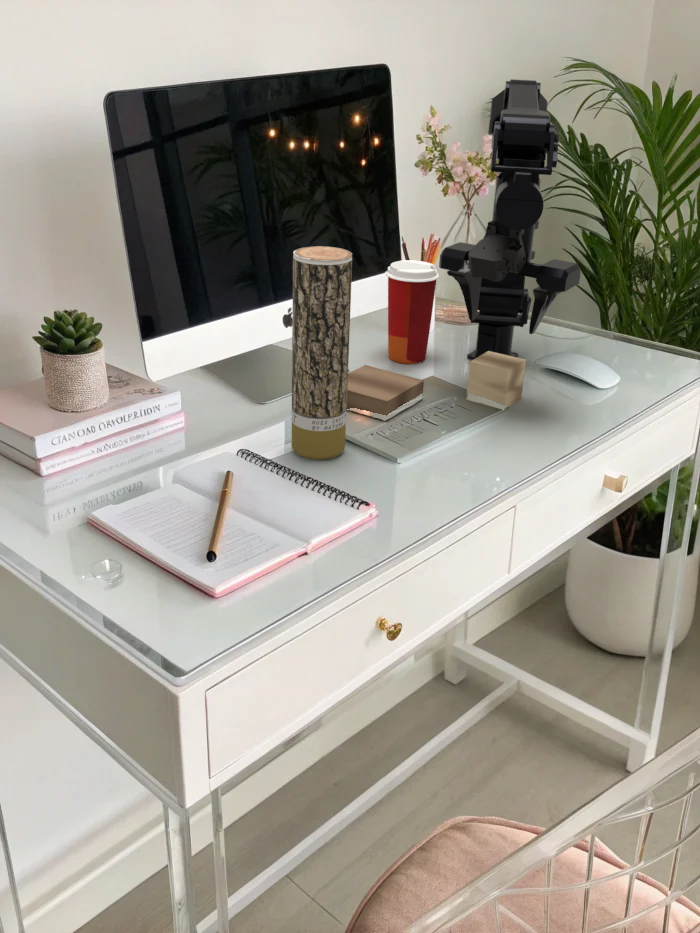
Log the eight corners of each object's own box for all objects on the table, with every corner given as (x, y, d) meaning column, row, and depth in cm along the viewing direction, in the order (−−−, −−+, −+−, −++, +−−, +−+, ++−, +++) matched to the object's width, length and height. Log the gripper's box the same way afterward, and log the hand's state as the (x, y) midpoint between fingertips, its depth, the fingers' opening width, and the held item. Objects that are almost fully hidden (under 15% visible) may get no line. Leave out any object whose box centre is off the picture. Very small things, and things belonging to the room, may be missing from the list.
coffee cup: (432, 351, 152) (440, 260, 145) (431, 368, 145) (439, 274, 138) (382, 347, 152) (387, 257, 146) (378, 364, 145) (383, 270, 138)
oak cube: (484, 388, 138) (488, 350, 135) (521, 398, 135) (526, 359, 132) (465, 400, 133) (469, 361, 131) (503, 410, 130) (508, 371, 128)
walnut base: (364, 383, 137) (365, 364, 136) (422, 399, 133) (423, 380, 131) (325, 403, 130) (326, 384, 129) (385, 421, 125) (387, 401, 124)
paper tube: (352, 444, 118) (360, 250, 107) (334, 466, 112) (340, 263, 101) (303, 435, 120) (306, 243, 109) (282, 456, 114) (283, 256, 103)
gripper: (423, 212, 121) (415, 326, 128) (556, 235, 112) (540, 356, 119) (463, 201, 129) (453, 308, 136) (590, 220, 120) (572, 335, 127)
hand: (501, 326), depth 129 cm, fingers open, 9 cm apart
